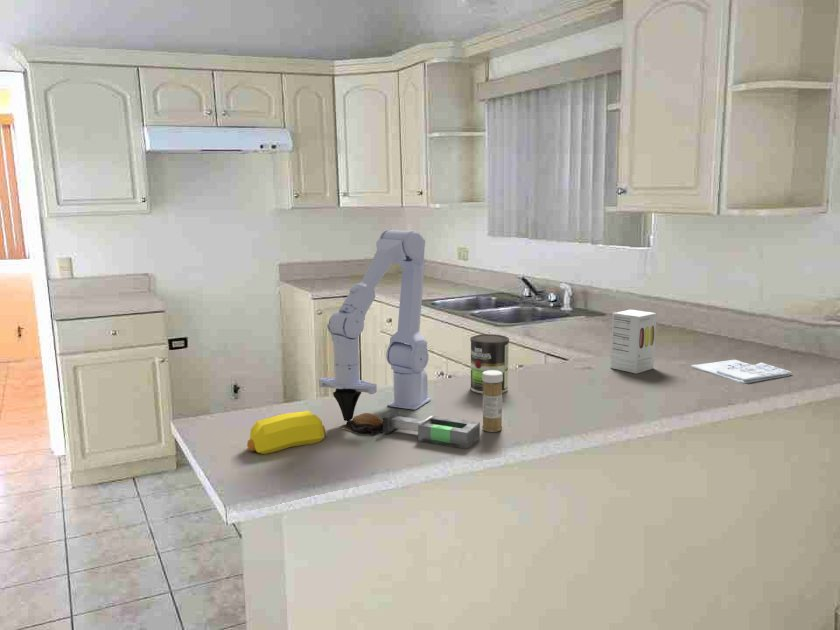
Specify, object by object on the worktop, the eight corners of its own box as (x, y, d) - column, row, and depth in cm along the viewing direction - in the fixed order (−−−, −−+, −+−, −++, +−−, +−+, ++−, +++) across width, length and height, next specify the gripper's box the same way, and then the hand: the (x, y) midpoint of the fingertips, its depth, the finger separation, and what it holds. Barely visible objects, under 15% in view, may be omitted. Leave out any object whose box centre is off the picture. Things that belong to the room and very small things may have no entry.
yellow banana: (333, 442, 160) (318, 432, 166) (332, 412, 159) (316, 404, 165) (254, 459, 150) (241, 448, 157) (252, 428, 149) (239, 418, 155)
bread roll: (338, 430, 169) (337, 415, 168) (364, 420, 175) (364, 406, 174) (370, 440, 161) (369, 424, 161) (396, 430, 168) (396, 414, 167)
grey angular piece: (395, 424, 169) (395, 409, 168) (435, 431, 164) (435, 415, 164) (383, 433, 163) (382, 417, 163) (424, 439, 159) (423, 423, 158)
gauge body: (432, 430, 165) (432, 415, 165) (479, 438, 160) (479, 422, 160) (418, 441, 159) (418, 425, 158) (467, 449, 154) (467, 432, 153)
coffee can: (493, 396, 190) (493, 344, 188) (462, 389, 197) (462, 338, 195) (516, 388, 198) (516, 337, 195) (486, 381, 205) (486, 332, 202)
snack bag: (743, 385, 199) (744, 378, 199) (688, 369, 217) (689, 362, 217) (793, 377, 207) (793, 369, 206) (736, 361, 225) (736, 355, 225)
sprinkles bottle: (490, 424, 169) (490, 368, 166) (506, 429, 166) (506, 371, 163) (478, 429, 166) (478, 372, 163) (494, 434, 163) (494, 376, 160)
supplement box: (636, 374, 210) (639, 316, 207) (609, 368, 217) (611, 312, 214) (654, 368, 216) (657, 312, 213) (627, 362, 223) (629, 308, 220)
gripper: (310, 363, 168) (312, 420, 170) (364, 370, 161) (366, 429, 164) (327, 357, 174) (329, 411, 176) (380, 363, 168) (381, 419, 170)
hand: (348, 419), depth 171 cm, fingers closed
